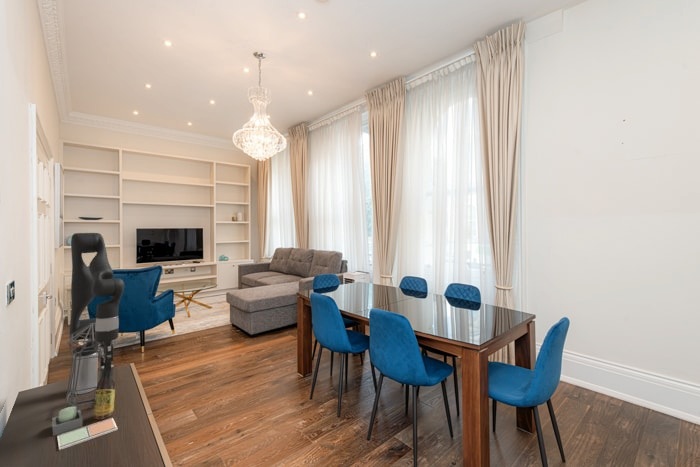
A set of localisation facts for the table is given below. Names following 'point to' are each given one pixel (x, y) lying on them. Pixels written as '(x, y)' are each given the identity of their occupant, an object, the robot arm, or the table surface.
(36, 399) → the table surface
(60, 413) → the button
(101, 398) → the sauce bottle
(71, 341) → the geometric lantern
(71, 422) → the button housing
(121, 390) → the table surface
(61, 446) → the colouring card
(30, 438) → the table surface
